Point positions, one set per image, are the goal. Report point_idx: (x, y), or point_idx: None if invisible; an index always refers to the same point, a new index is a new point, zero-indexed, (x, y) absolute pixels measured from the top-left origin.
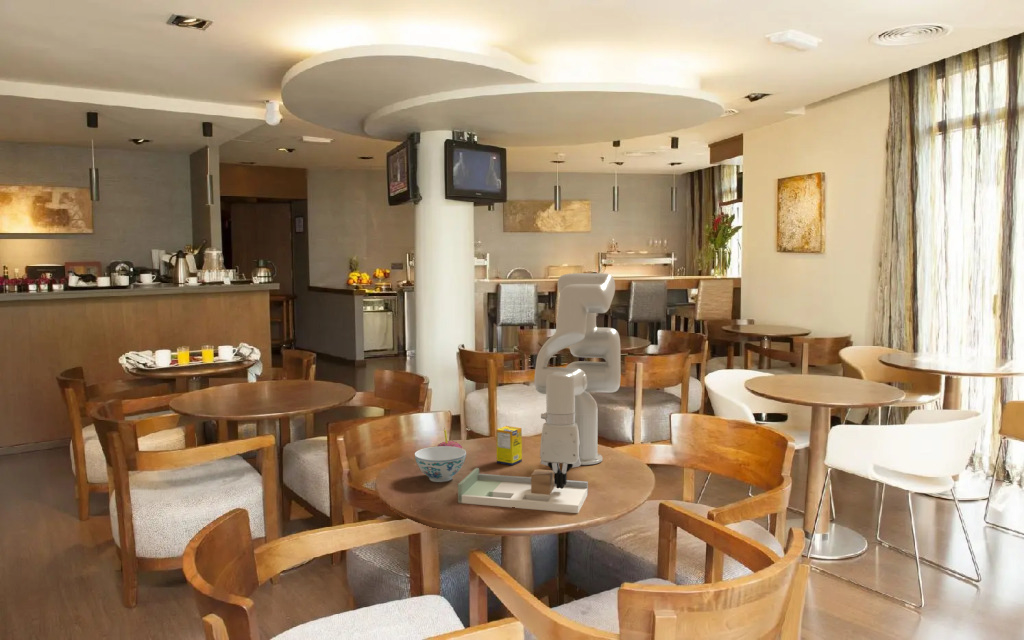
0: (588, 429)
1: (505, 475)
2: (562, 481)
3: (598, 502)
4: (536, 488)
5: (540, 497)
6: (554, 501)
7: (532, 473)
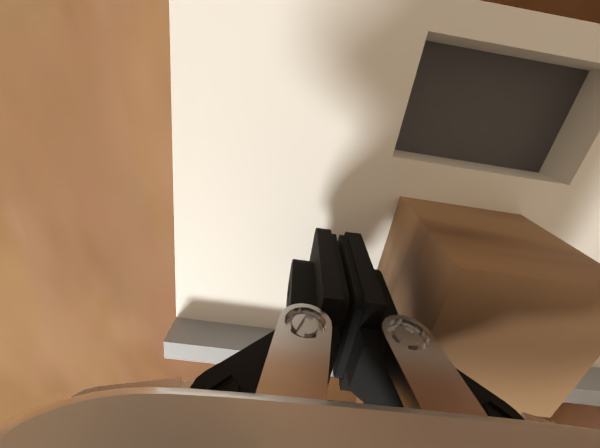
0: None
1: None
2: (318, 259)
3: (109, 199)
4: (508, 223)
5: (461, 164)
6: (374, 38)
7: None
